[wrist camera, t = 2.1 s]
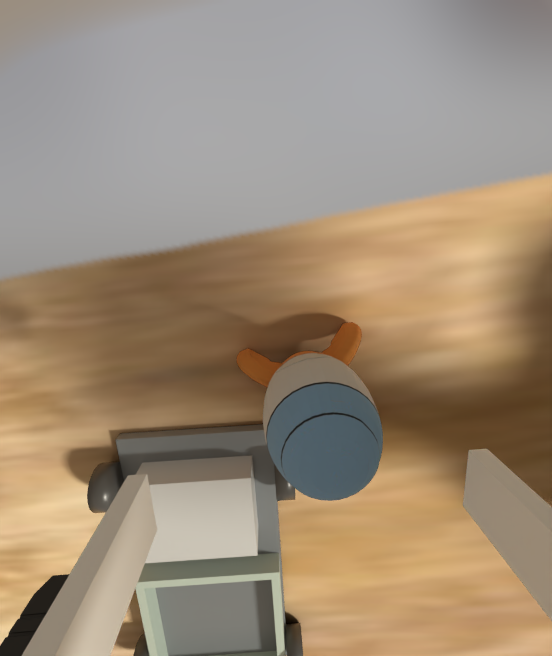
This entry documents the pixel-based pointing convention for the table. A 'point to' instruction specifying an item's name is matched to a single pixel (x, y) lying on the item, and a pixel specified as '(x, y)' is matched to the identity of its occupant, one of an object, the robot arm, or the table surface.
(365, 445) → the toy rocket
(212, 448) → the toy truck
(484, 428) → the table surface
